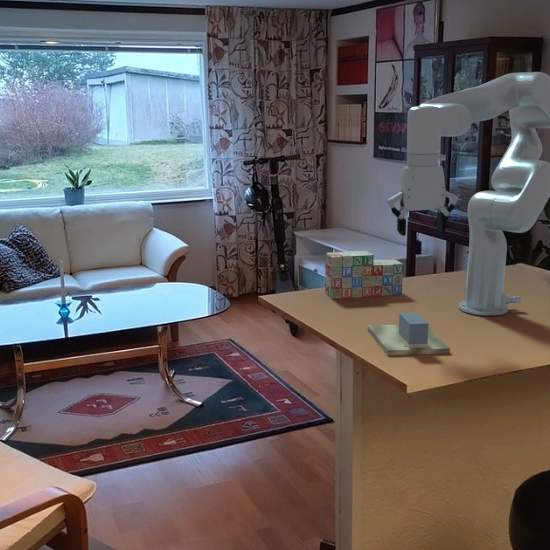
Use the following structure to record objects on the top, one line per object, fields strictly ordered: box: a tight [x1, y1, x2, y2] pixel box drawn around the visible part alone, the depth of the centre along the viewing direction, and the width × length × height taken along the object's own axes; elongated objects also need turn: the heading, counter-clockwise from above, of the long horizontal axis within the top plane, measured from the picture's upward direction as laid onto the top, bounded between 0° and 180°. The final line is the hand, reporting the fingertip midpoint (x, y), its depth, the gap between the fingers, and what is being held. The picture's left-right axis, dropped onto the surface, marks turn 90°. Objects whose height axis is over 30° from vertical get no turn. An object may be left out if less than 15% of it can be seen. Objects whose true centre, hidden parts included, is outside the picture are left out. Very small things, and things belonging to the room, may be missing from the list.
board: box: [367, 323, 451, 357], centre depth 163 cm, size 14×18×1 cm
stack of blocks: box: [324, 250, 404, 299], centre depth 202 cm, size 21×6×12 cm, turn 102°
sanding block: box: [398, 312, 430, 348], centre depth 158 cm, size 4×8×6 cm, turn 7°
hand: (421, 233), depth 167 cm, fingers open, 9 cm apart
